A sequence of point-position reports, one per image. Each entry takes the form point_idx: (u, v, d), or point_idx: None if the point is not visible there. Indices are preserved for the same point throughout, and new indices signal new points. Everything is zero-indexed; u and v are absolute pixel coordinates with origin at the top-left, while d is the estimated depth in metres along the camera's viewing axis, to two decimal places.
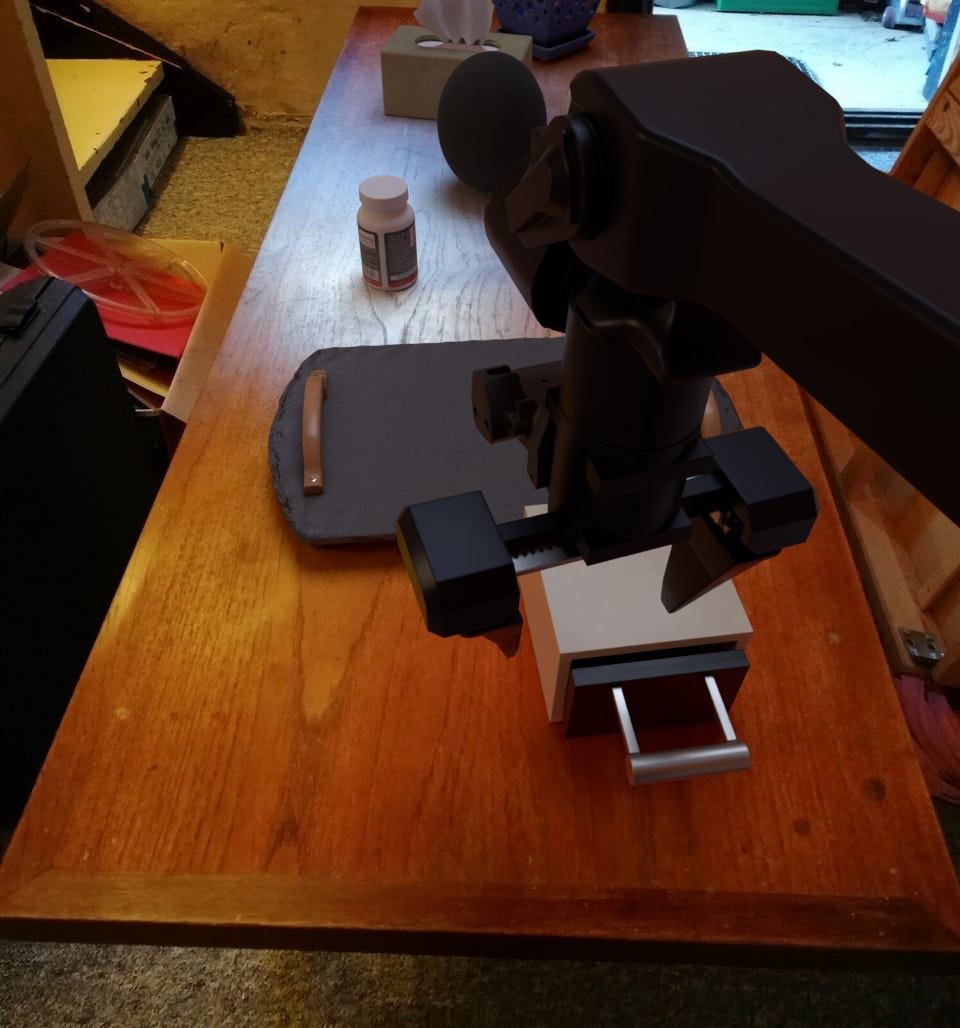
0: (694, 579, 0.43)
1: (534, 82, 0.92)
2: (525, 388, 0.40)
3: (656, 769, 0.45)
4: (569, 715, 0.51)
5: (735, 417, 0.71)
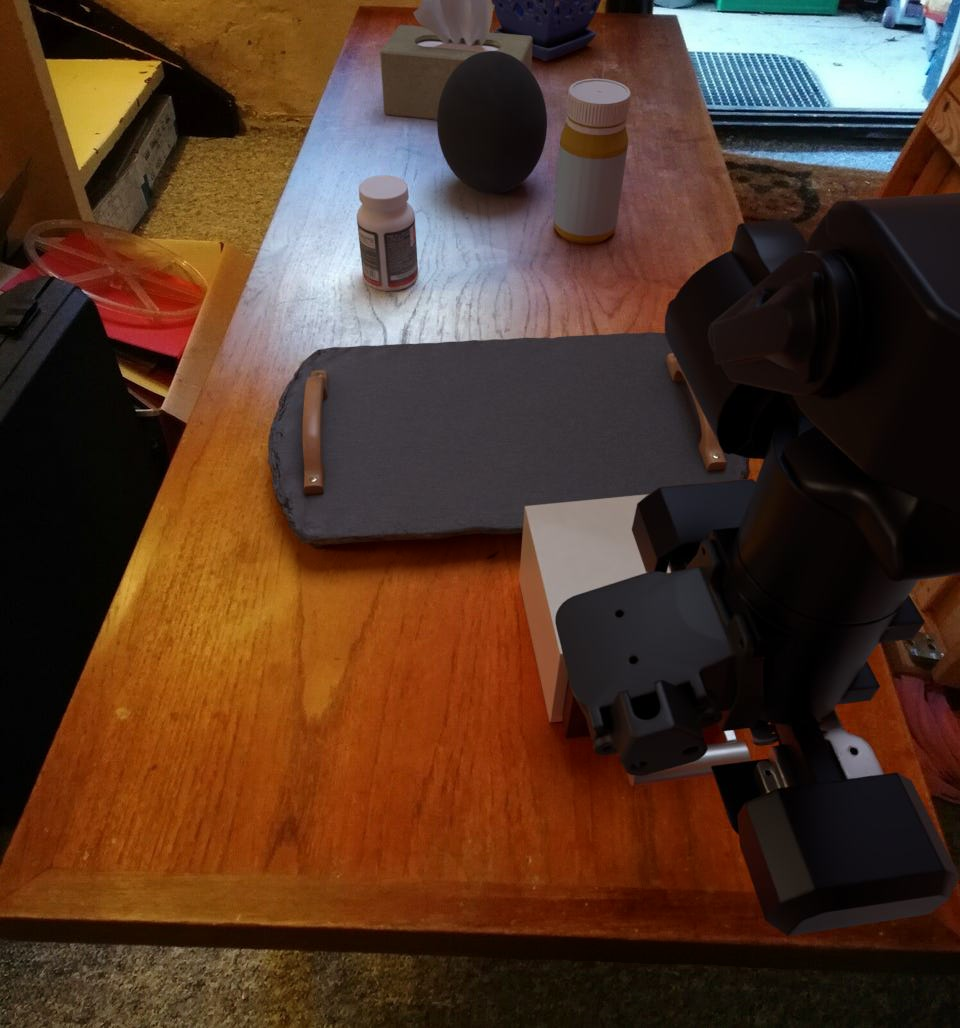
0: None
1: (534, 82, 0.92)
2: (654, 683, 0.29)
3: None
4: (569, 715, 0.51)
5: None
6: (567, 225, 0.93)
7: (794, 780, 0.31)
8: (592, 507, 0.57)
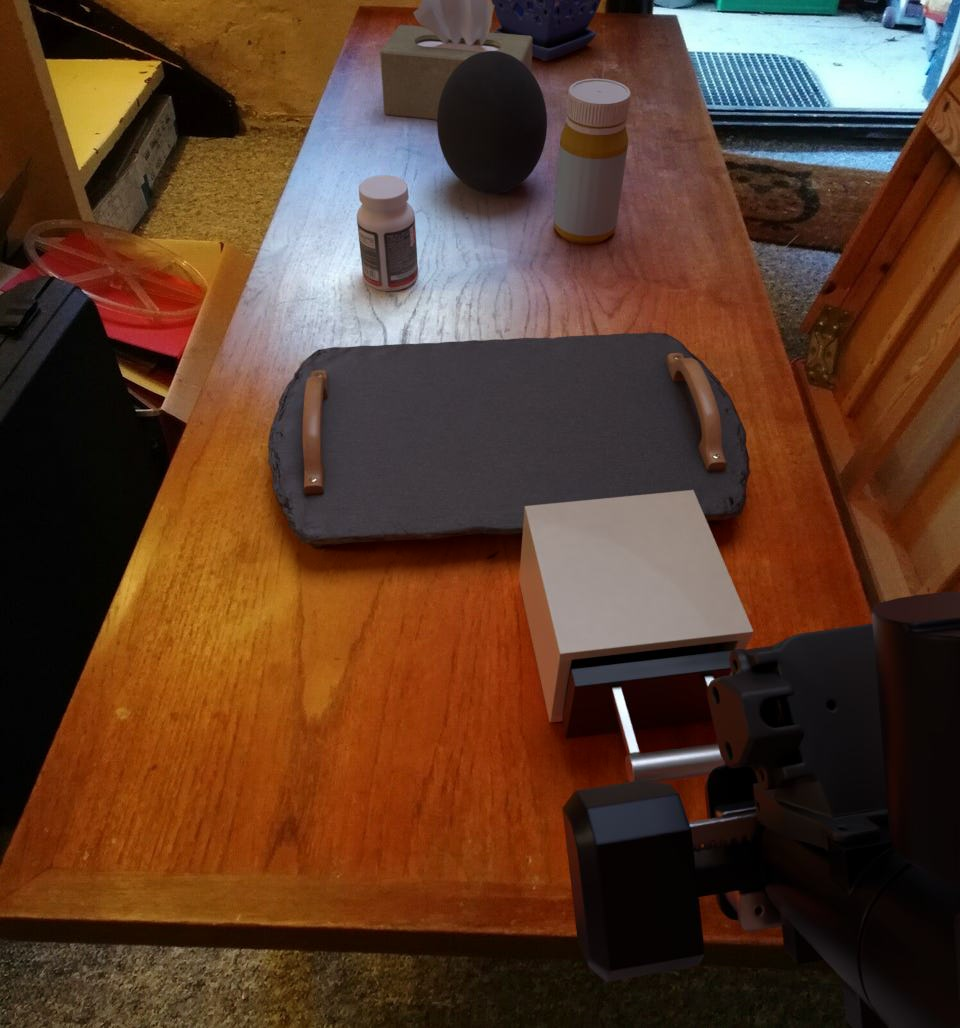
0: None
1: (534, 82, 0.92)
2: (802, 724, 0.27)
3: (656, 769, 0.45)
4: (569, 715, 0.51)
5: (735, 417, 0.70)
6: (567, 225, 0.93)
7: None
8: (592, 507, 0.57)
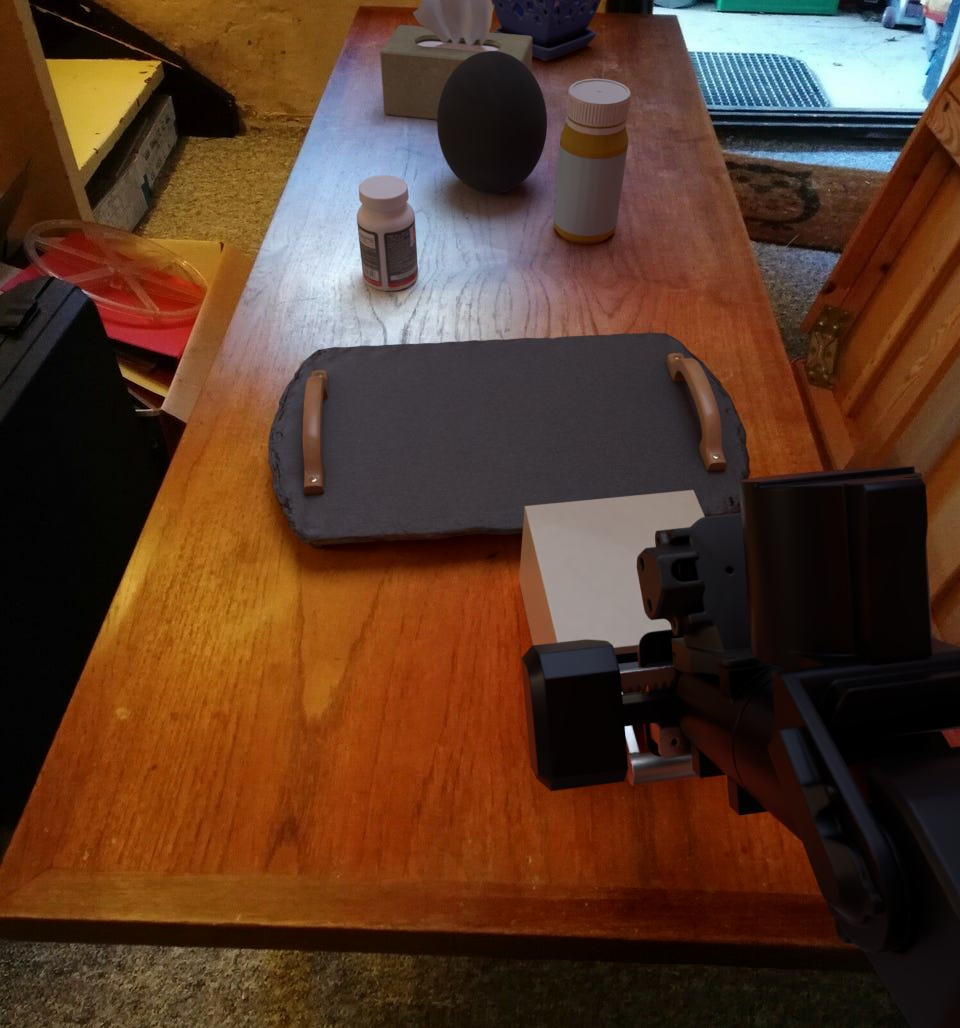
0: None
1: (534, 82, 0.92)
2: (706, 583, 0.35)
3: (656, 769, 0.45)
4: None
5: (736, 418, 0.70)
6: (567, 225, 0.93)
7: None
8: (592, 507, 0.57)
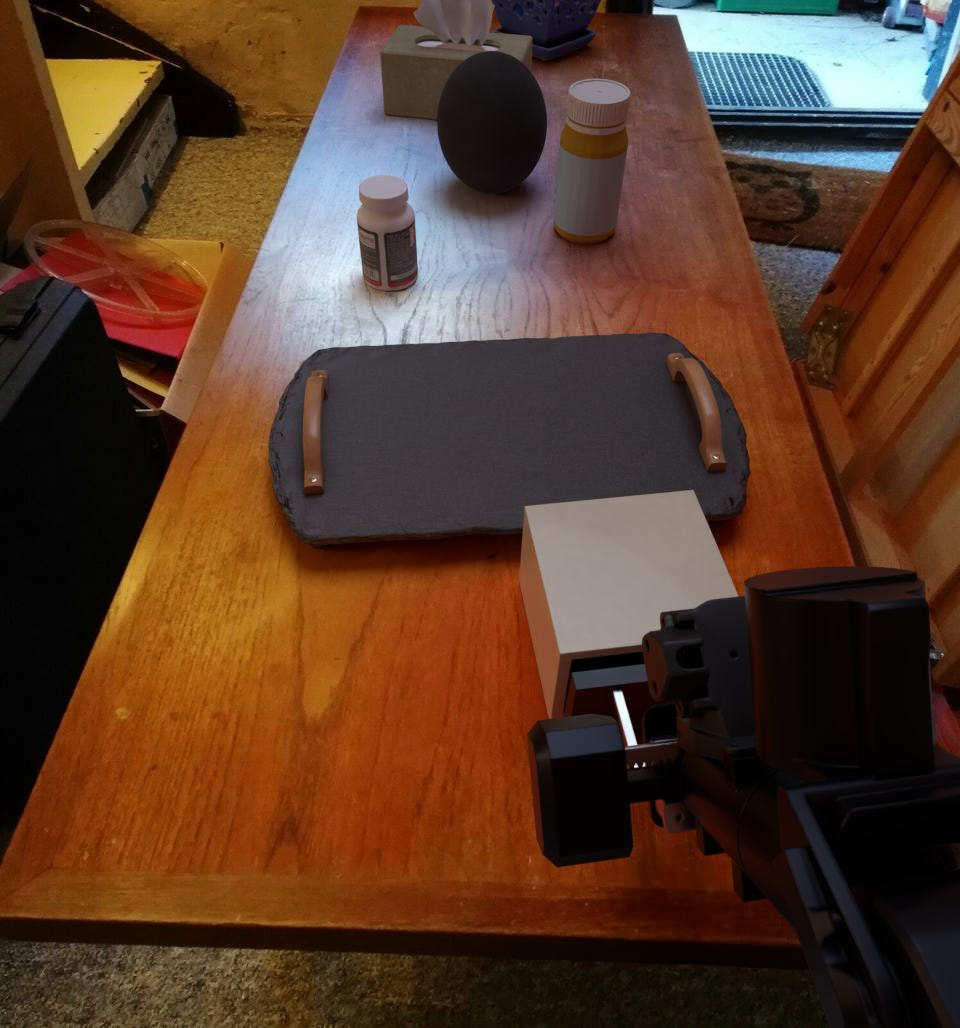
0: None
1: (534, 82, 0.92)
2: (710, 668, 0.35)
3: None
4: None
5: (736, 418, 0.70)
6: (567, 225, 0.93)
7: None
8: (592, 507, 0.57)
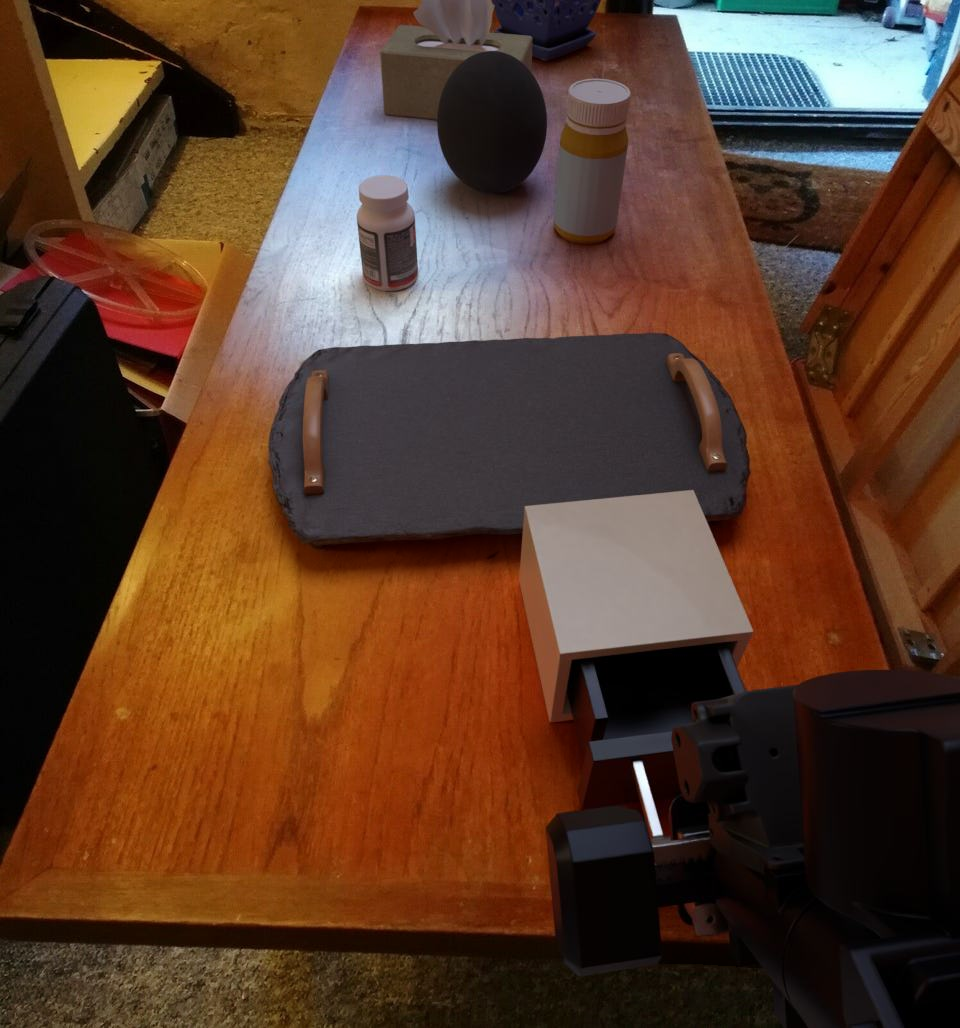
0: None
1: (534, 82, 0.92)
2: (748, 768, 0.32)
3: None
4: (586, 787, 0.48)
5: (736, 418, 0.70)
6: (567, 225, 0.93)
7: None
8: (592, 507, 0.57)
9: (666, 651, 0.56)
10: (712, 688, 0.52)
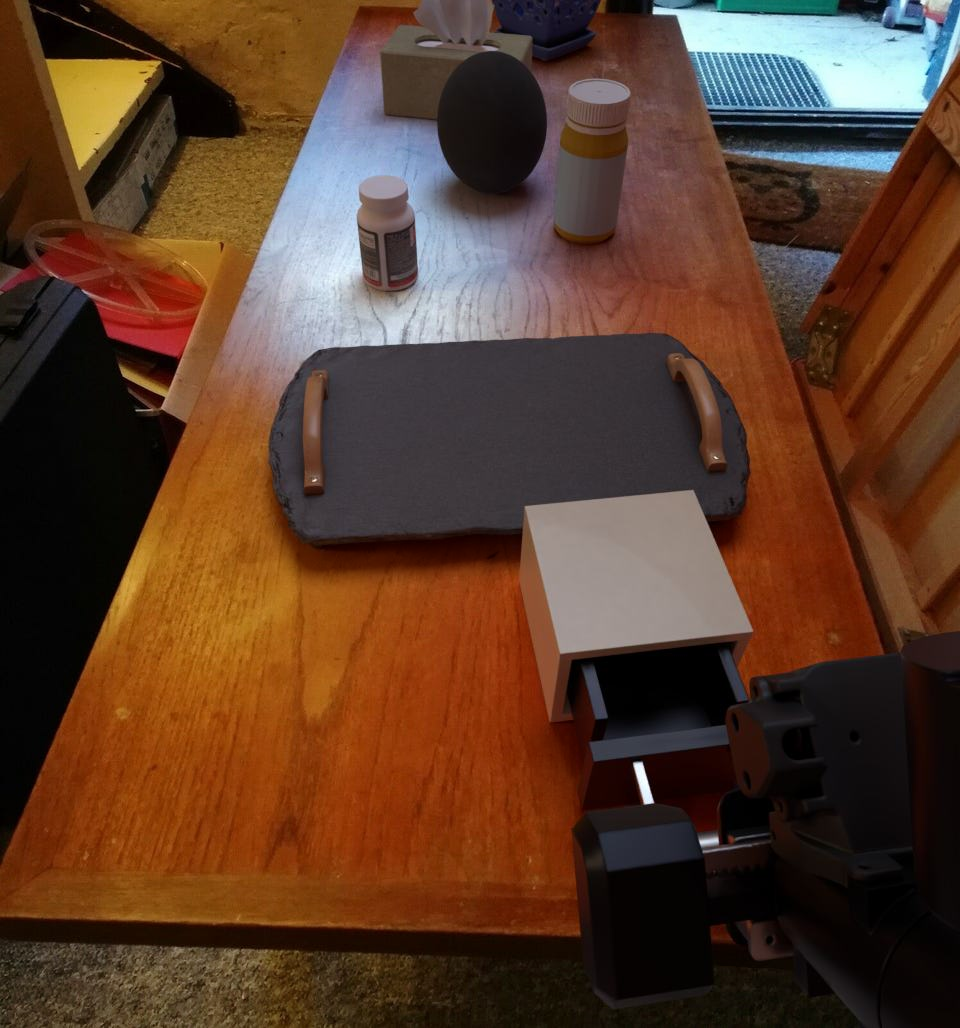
0: None
1: (534, 82, 0.92)
2: (824, 756, 0.26)
3: None
4: (586, 788, 0.48)
5: (736, 418, 0.70)
6: (567, 225, 0.93)
7: None
8: (592, 507, 0.57)
9: (666, 651, 0.56)
10: (712, 689, 0.52)
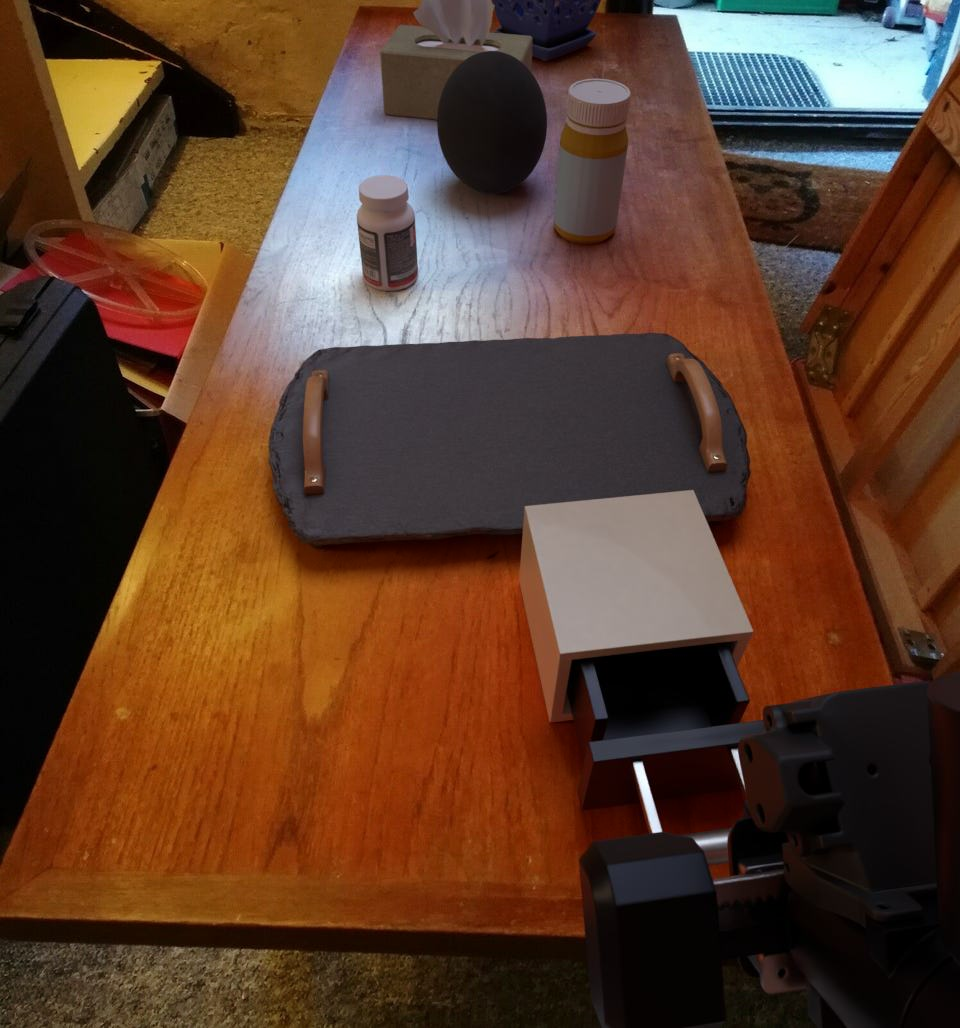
0: None
1: (534, 82, 0.92)
2: (841, 789, 0.26)
3: None
4: (586, 788, 0.48)
5: (736, 418, 0.70)
6: (567, 225, 0.93)
7: None
8: (592, 507, 0.57)
9: (666, 651, 0.56)
10: (712, 689, 0.52)
